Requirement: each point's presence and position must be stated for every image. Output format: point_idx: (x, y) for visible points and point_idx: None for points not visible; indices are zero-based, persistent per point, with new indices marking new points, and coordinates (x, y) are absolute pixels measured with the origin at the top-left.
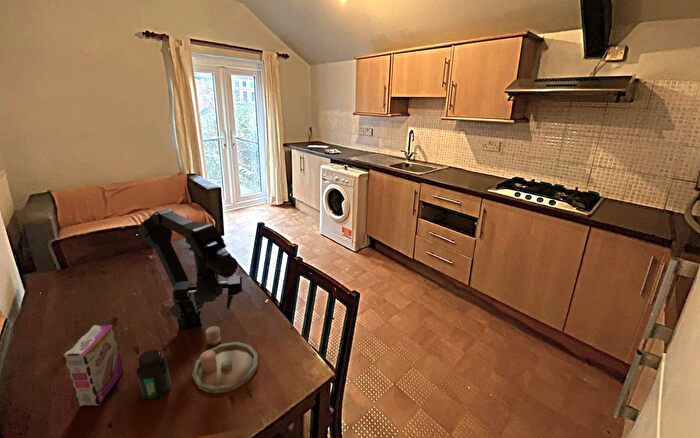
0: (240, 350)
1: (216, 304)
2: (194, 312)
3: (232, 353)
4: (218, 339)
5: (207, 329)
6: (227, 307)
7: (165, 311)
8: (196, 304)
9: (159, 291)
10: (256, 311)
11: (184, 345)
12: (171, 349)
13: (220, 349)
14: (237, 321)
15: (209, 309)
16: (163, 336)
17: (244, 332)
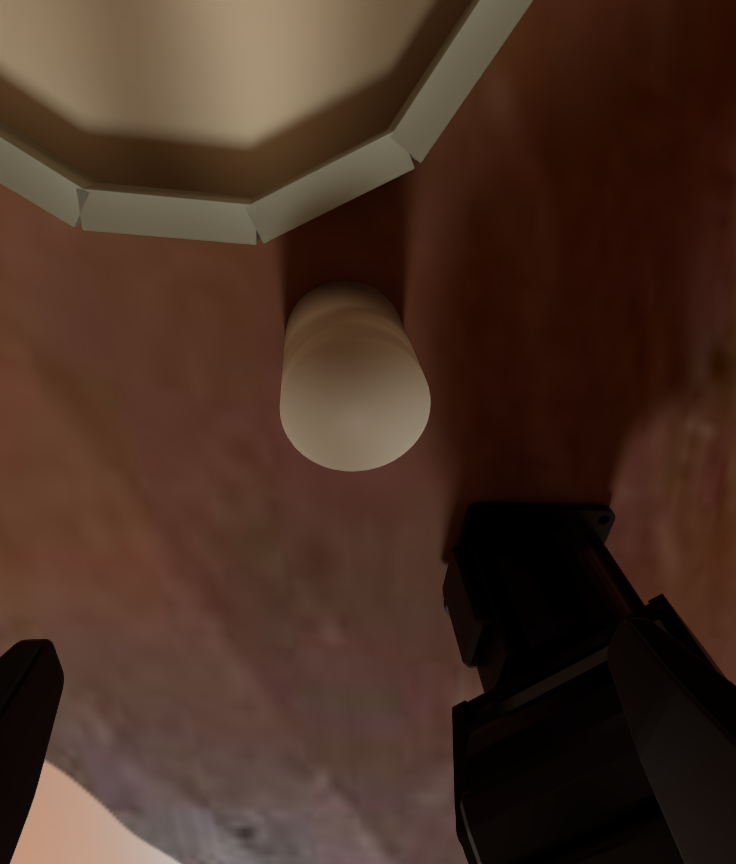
0: (29, 101)
1: (350, 707)
2: (676, 642)
3: (120, 73)
4: (298, 324)
5: (412, 437)
6: (7, 688)
7: None
8: (551, 758)
9: None
10: (34, 621)
11: (582, 371)
12: (679, 350)
13: (270, 187)
14: (174, 546)
15: (394, 675)
16: (701, 496)
17: (80, 410)
